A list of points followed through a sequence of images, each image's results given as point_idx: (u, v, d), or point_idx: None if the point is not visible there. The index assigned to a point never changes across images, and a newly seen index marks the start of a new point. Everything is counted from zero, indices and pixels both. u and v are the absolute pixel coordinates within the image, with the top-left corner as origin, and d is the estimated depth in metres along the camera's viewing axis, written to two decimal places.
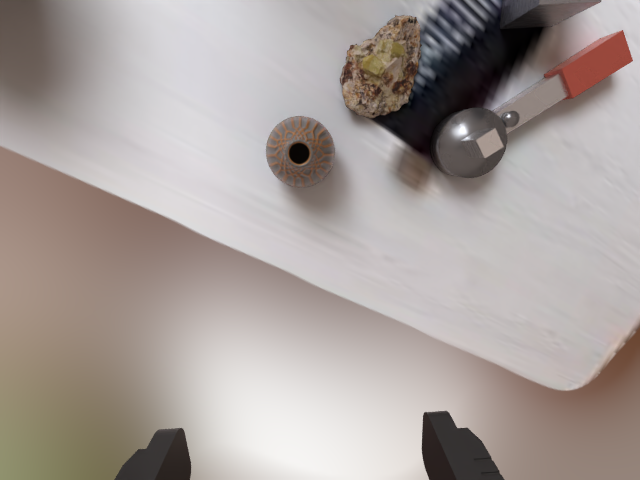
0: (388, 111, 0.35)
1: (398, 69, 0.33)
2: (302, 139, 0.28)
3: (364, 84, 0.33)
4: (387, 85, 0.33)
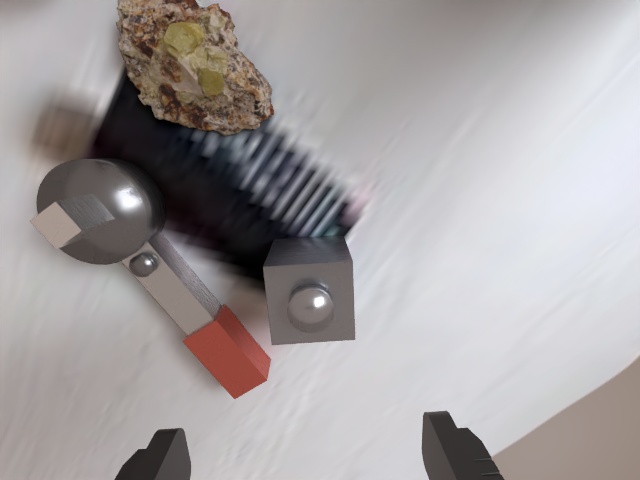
0: (134, 83, 0.21)
1: (189, 90, 0.21)
2: None
3: (157, 25, 0.19)
4: (165, 73, 0.20)
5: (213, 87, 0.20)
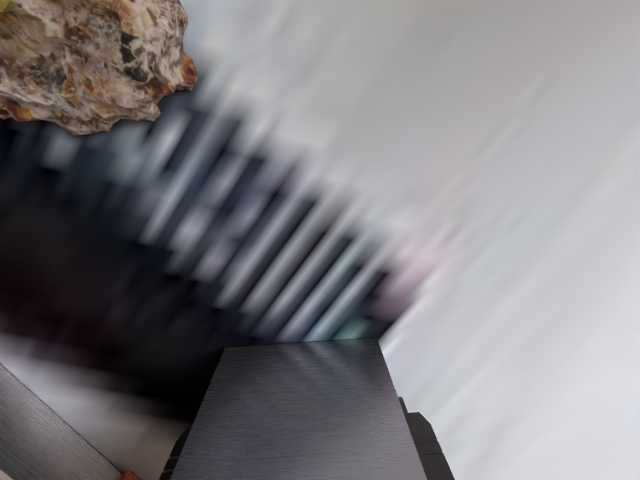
0: None
1: None
2: None
3: None
4: None
5: None
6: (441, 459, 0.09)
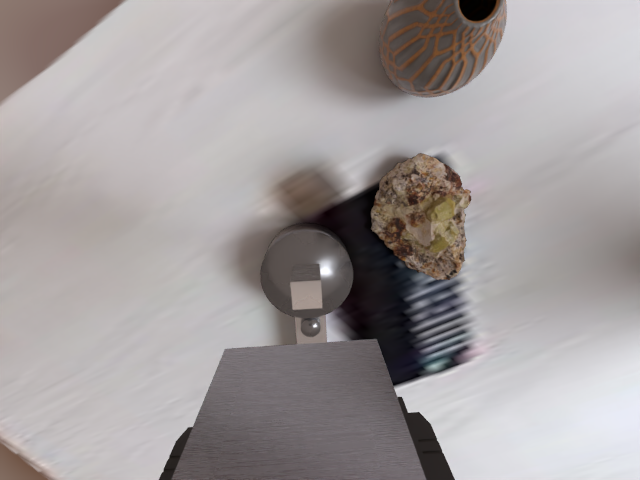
0: (377, 201, 0.25)
1: (416, 236, 0.25)
2: (492, 21, 0.16)
3: (430, 188, 0.24)
4: (408, 216, 0.25)
5: (437, 249, 0.25)
6: (441, 459, 0.09)
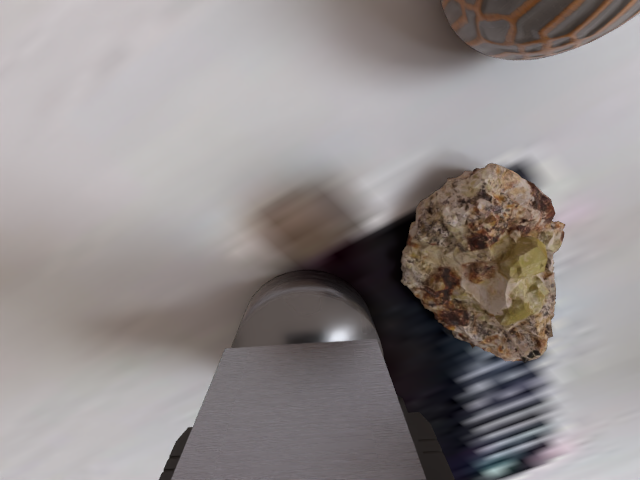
0: (413, 240, 0.16)
1: (477, 297, 0.15)
2: None
3: (507, 223, 0.14)
4: (467, 265, 0.15)
5: (513, 320, 0.15)
6: (441, 459, 0.09)
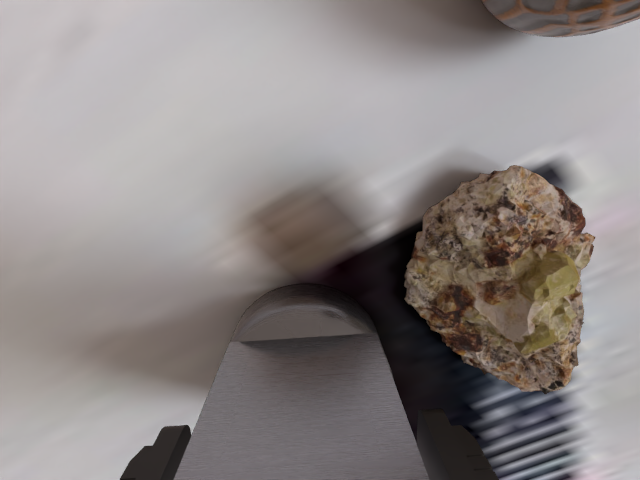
0: (420, 254, 0.14)
1: (493, 321, 0.13)
2: None
3: (531, 235, 0.12)
4: (482, 284, 0.13)
5: (535, 348, 0.13)
6: (493, 478, 0.09)
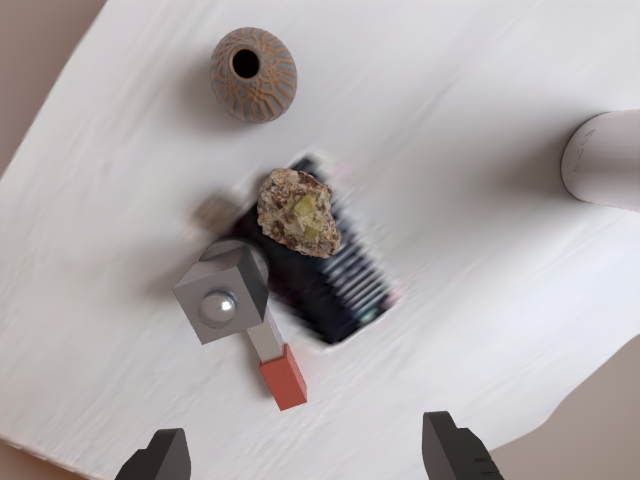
0: (258, 212, 0.33)
1: (294, 230, 0.32)
2: (262, 74, 0.22)
3: (290, 193, 0.31)
4: (283, 217, 0.32)
5: (311, 236, 0.32)
6: None
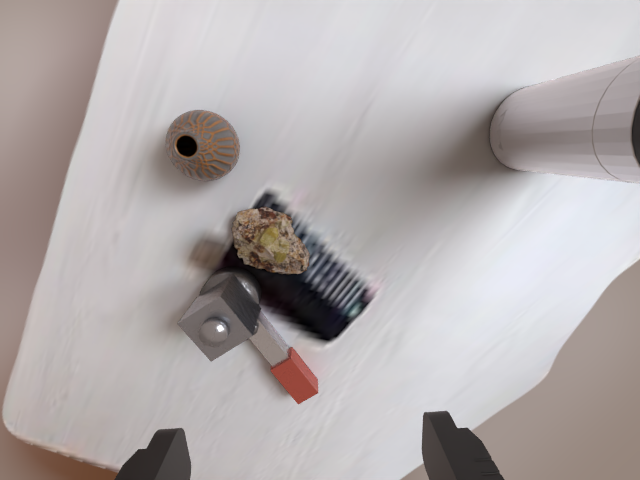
0: (236, 247, 0.39)
1: (267, 257, 0.39)
2: (201, 149, 0.29)
3: (255, 228, 0.38)
4: (255, 248, 0.38)
5: (281, 259, 0.38)
6: None
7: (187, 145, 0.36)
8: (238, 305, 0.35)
